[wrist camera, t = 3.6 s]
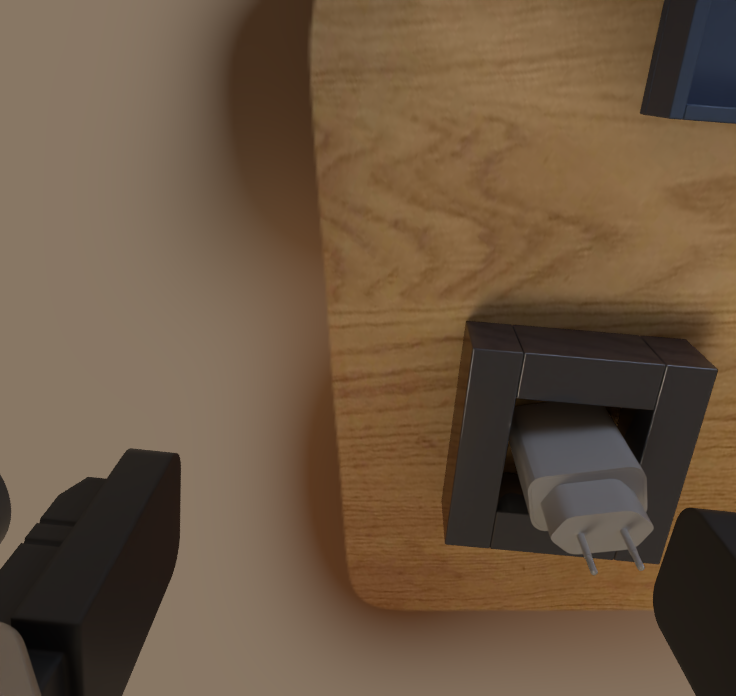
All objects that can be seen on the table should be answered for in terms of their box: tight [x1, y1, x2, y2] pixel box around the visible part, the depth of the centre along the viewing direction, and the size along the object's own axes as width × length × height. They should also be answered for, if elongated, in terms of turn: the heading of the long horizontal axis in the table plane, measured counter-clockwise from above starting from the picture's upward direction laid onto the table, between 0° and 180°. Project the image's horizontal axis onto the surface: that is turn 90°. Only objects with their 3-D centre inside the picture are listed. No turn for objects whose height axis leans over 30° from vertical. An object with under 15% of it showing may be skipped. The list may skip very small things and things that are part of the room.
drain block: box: [441, 321, 718, 564], centre depth 36 cm, size 12×12×4 cm
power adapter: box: [509, 402, 654, 575], centre depth 32 cm, size 3×5×12 cm, turn 100°
